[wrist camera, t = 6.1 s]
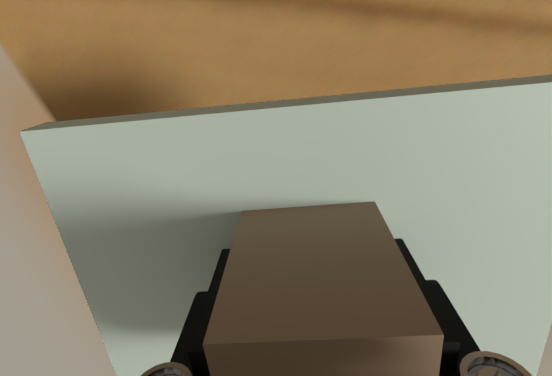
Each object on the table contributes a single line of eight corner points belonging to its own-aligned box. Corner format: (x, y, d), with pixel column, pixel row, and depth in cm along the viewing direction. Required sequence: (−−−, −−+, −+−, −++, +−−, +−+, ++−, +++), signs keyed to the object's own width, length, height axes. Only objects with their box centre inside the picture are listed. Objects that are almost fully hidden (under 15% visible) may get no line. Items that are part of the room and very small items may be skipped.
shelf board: (136, 368, 15) (42, 566, 9) (46, 122, 11) (-225, 212, 5) (515, 355, 14) (670, 573, 8) (583, 71, 10) (1010, 117, 4)
